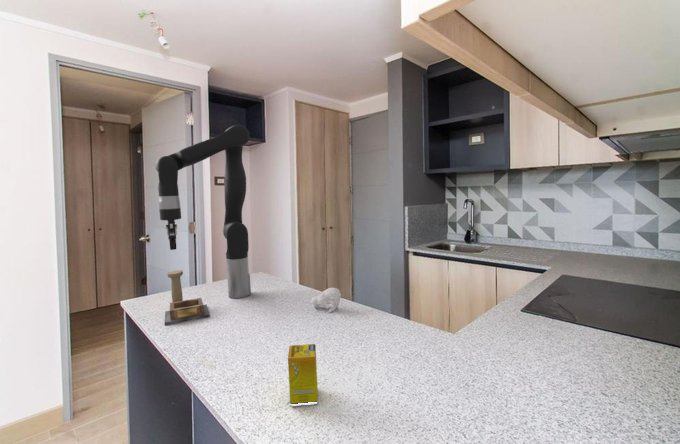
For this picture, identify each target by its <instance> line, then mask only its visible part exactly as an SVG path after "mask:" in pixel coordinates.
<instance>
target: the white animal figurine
mask: <svg viewBox="0 0 680 444" xmlns="http://www.w3.org/2000/svg"><path fill="white" fill-rule="evenodd" d="M341 297H342V294H341V291H340V290H339V288H336V287H329V288H326V289H324V290H323V291H322V292H321V293H319V295H317V296H313V297H312V298H311V305H312V306H313V307H314V309H319V308H320V307H323V308H326V309H329V310H328V313H332V312H334V311H335V309H338V308H339V305H340V303H341ZM330 305H332V306H331V307H330Z"/></svg>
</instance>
